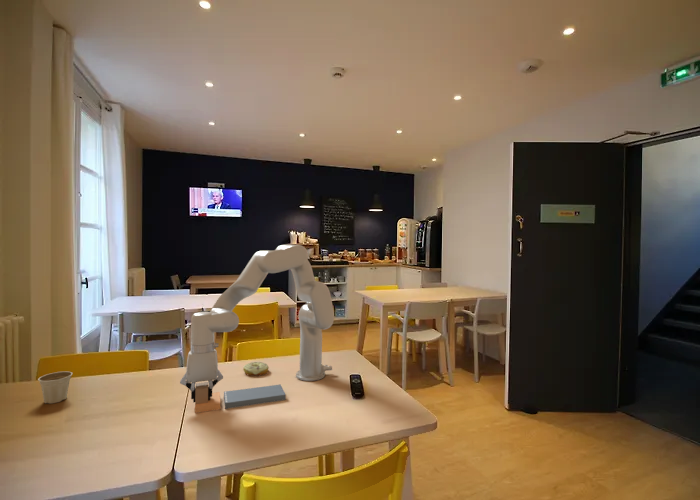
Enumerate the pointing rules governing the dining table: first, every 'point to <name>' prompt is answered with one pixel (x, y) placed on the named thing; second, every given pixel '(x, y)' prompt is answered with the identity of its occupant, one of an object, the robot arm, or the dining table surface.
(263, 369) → the decorated donut
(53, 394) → the flower pot
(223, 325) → the robot arm
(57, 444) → the dining table surface
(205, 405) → the stub
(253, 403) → the board
